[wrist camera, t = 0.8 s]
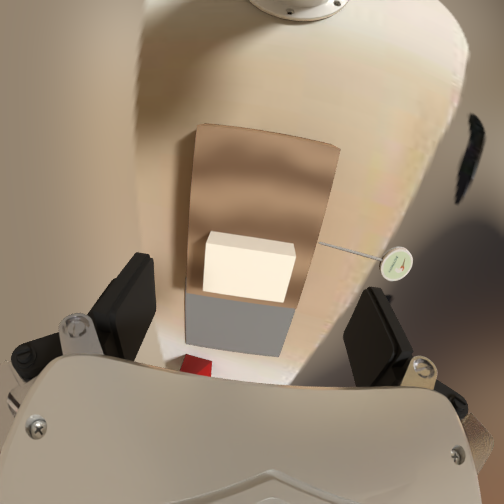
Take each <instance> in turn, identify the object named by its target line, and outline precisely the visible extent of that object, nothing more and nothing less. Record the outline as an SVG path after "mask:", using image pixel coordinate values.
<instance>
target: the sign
mask: <svg viewBox="0 0 504 504" xmlns="http://www.w3.org/2000/svg"><path fill="white" fill-rule="evenodd" d="M319 244H322V245H325V246H329V247H332V248H336V249H340V250H343V251H347V252H350V253H354V254H357V255H361V256H365V257H368V258H371V259H375V260H378V261H380V263H379V269H380V272H381V274H382V275H383V277H384V278H385V279H387V280H389V281H395V280H399V279H401V278H403V277H404V276H406V275H407V274H408V272H409V271H410V269H411V267H412V263H413V258H412V255H411V254H410V253H409V251H408V250H407V249H406V248H404V247H393V248H391V249H389V250H388V251H387V252H385V254H384V255H383V256H382V258H378V257H374V256H371V255H367V254H363V253H360V252H356V251H352V250H349V249H345V248H341V247H337V246H334V245H330V244H326V243H322V242H319Z"/></svg>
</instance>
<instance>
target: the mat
mask: <svg viewBox="0 0 504 504" xmlns="http://www.w3.org/2000/svg"><path fill="white" fill-rule="evenodd" d="M186 290H187V277H186V289H185V316H186V344H189V345H195V346H200V347H206V348H212V349H218V350H225V351H232V352H239V353H247V354H255V355H263V356H273V357H279V355H280V352H281V350H282V347H283V344H284V341H285V338H286V335H287V332H288V330H289V327H290V324H291V321H292V318H293V315H294V312H295V309H294V308H285V307H277V306H270V305H262V304H255V303H248V302H241V301H234V300H227V299H221V298H214V297H208V296H202V295H196V294H190V293H186Z"/></svg>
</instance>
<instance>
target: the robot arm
mask: <svg viewBox="0 0 504 504" xmlns="http://www.w3.org/2000/svg"><path fill="white" fill-rule="evenodd" d="M249 1H250V2H251V3H252V4H253V5H255V6H256V7H257V8H259V9H260V10H262V11H264V12H266V13H268V14H270V15H273V16H276V17H279V18H283V19H288V20H294V21H315V20H320V19H324V18H327V17H330V16H332V15H334V14H336V13H337V12H339V11H340V10H341V9H342V8H343V7H344V6H345V5H346V4H347V2H348V1H349V0H249ZM334 4H335V5H337V6H335V5H334ZM287 13H291V14H292V15H289V14H287ZM155 312H156V296H155V281H154V262H153V258H150V256H149V254H144V253H138V252H137V253H135V254H134V256H133V257H132V258H131V259H130V261H129V262H128V263H127V265H126V266H125V267H124V269H123V270H122V271H121V272H120V274H119V275H118V276H117V278H115V279H113V280H112V281H111V283H110V284H109V285H108V287H107V288H106V289H105V291H104V292H103V293H102V295H101V296H100V297H99V299H98V300H97V302H96V303H95V304H94V306H93V307H92V309H91V310H90V312H89V313H88V314H87V315H85V314H82V313H75V314H71V315H69V316H67V317H65V318H64V319H63V320H62V321H61V322H60V325H59V332H58V333H54V334H52V335H48V336H45V337H43V338H39V339H36V340H33V341H30V342H27V343H23V344H21V345H19V346H18V347H17V348H16V349H15V350H14V351H13V353H12V356H11V361H9V362H7V360H5V361H4V362H2V363H1V364H0V504H482V503H481V495H480V489H479V483H478V478H477V475H478V473H479V472H480V470H481V468H482V467H483V465H484V463H485V462H486V460H487V458H488V456H489V455H490V453H491V451H492V449H493V446H494V441H493V437H492V436H491V434H490V433H489V432H488V431H487V430H486V429H485V427H484V426H483V425H482V424H481V423H480V422H479V421H478V420H477V419H476V417H475V416H474V415H473V414H472V413H470V414H468V404H467V402H466V400H465V399H464V398H463V397H462V396H461V395H460V394H458V393H457V392H455V391H454V390H452V389H451V388H449V387H447V386H446V385H444V384H443V383H441V382H440V381H438V380H437V379H436V378H437V370H436V367H435V365H434V364H433V363H432V361H430V360H429V359H428V358H426V357H422V356H415V357H414V358H413V356H412V353H413V349H412V347H411V345H410V343H409V341H408V339H407V337H406V335H405V333H404V331H403V329H402V327H401V325H400V323H399V321H398V319H397V317H396V315H395V313H394V311H393V309H392V308H391V306H390V304H389V302H388V300H387V298H386V296H385V295H384V293H383V291H382V289H381V288H376V287H368V288H367V289H365V290H364V291H363V292H362V295H361V297H360V299H359V301H358V304H357V306H356V308H355V310H354V313H353V315H352V317H351V319H350V321H349V323H348V325H347V327H346V329H345V331H344V335H343V339H344V343H345V346H346V350H347V354H348V357H349V361H350V365H351V368H352V372H353V376H354V380H355V384H356V387H308V386H289V385H275V384H263V383H253V382H245V381H236V380H229V379H222V378H215V377H208V376H202V375H197V374H191V373H186V372H180V371H175V370H171V369H166V368H161V367H156V366H152V365H147V364H143V363H138V362H134V360H135V358H136V355H137V353H138V351H139V348H140V346H141V344H142V342H143V339H144V337H145V335H146V332H147V330H148V328H149V326H150V324H151V322H152V319H153V317H154V315H155Z"/></svg>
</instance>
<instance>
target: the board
mask: <svg viewBox="0 0 504 504" xmlns="http://www.w3.org/2000/svg"><path fill="white" fill-rule="evenodd" d="M339 154H340V149H339V148H337V147H336V146H334V145H332V144H328V143H324V142H320V141H315V140H311V139H306V138H301V137H296V136H291V135H286V134H281V133H275V132H269V131H263V130H256V129H249V128H242V127H234V126H226V125H217V124H207V123H205V124H201V125H197V130H196V139H195V149H194V159H193V169H192V181H191V194H190V209H189V226H188V249H187V290H186V293H190V294H196V295H202V296H208V297H214V298H221V299H227V300H234V301H241V302H248V303H255V304H262V305H270V306H277V307H285V308H294V309H296V308H297V305H298V302H299V299H300V296H301V293H302V290H303V287H304V283H305V280H306V277H307V274H308V270H309V267H310V264H311V260H312V257H313V254H314V250H315V247H316V243H317V240H318V236H319V233H320V229H321V226H322V222H323V218H324V215H325V211H326V207H327V203H328V199H329V195H330V192H331V188H332V183H333V179H334V175H335V171H336V167H337V163H338V158H339ZM211 231H214V232H221V233H228V234H234V235H241V236H248V237H254V238H261V239H267V240H274V241H280V242H286V243H293V244H294V248H295V253H296V259H295V263H294V266H293V270H292V274H291V278H290V281H289V285H288V288H287V292H286V295H285V299H284V302H283V303H282V302H274V301H267V300H259V299H252V298H245V297H238V296H232V295H225V294H219V293H212V292H206V291H203V279H204V264H205V250H206V242H207V239H208V237H209V234H210V232H211Z"/></svg>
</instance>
